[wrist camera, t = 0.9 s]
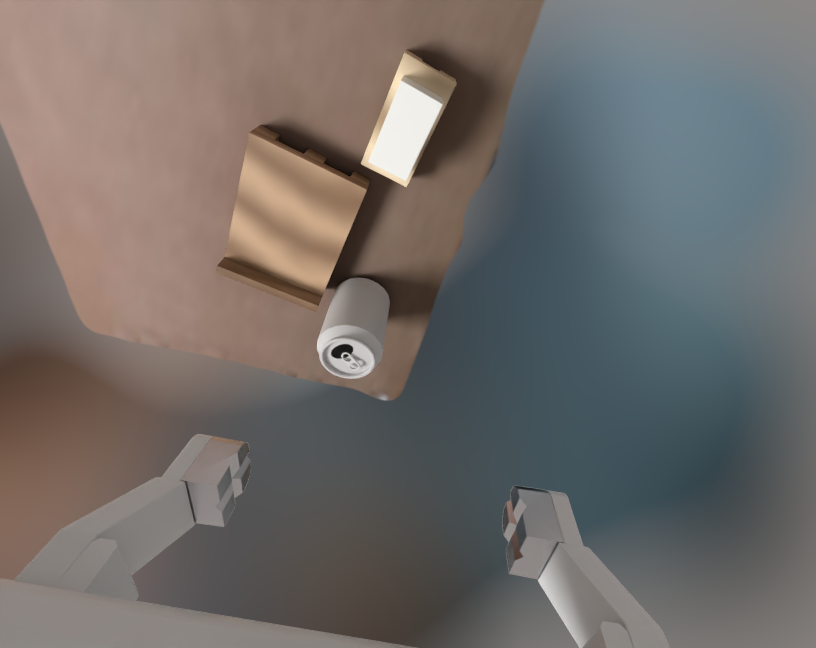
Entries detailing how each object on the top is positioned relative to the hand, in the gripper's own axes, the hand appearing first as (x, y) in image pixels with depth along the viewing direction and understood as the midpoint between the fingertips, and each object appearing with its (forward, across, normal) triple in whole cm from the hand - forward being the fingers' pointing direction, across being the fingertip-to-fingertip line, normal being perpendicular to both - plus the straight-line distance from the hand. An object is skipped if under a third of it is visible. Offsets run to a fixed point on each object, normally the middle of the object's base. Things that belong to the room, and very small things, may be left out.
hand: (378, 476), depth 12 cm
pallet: (+35, +3, -9) cm, 36 cm away
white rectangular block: (+32, +3, -8) cm, 33 cm away
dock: (+36, +15, +3) cm, 39 cm away
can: (+38, +7, +13) cm, 41 cm away
